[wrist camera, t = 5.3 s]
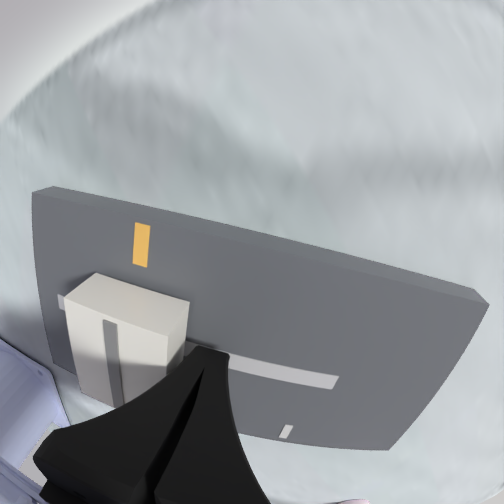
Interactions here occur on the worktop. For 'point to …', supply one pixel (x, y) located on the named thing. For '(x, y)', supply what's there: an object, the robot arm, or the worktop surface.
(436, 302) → the console
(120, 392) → the fader knob
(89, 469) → the robot arm
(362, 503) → the smoothie
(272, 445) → the worktop surface
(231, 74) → the worktop surface
